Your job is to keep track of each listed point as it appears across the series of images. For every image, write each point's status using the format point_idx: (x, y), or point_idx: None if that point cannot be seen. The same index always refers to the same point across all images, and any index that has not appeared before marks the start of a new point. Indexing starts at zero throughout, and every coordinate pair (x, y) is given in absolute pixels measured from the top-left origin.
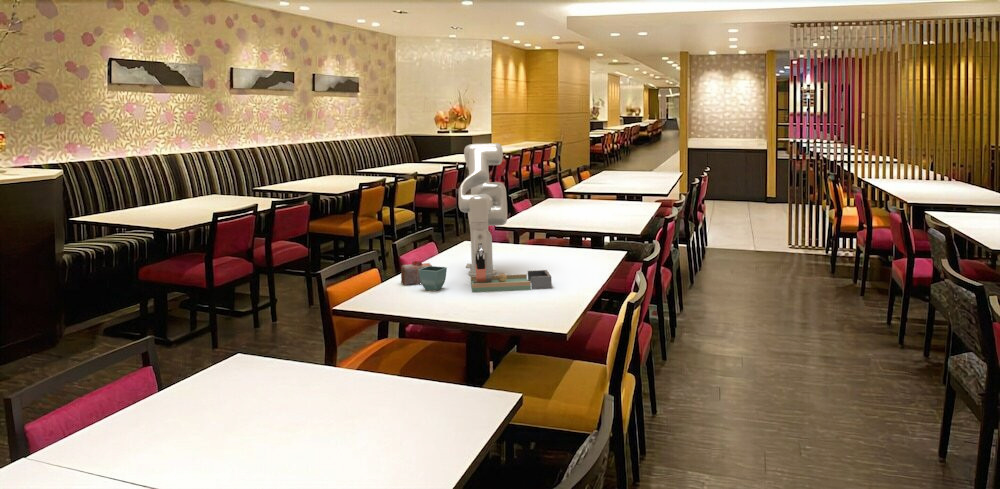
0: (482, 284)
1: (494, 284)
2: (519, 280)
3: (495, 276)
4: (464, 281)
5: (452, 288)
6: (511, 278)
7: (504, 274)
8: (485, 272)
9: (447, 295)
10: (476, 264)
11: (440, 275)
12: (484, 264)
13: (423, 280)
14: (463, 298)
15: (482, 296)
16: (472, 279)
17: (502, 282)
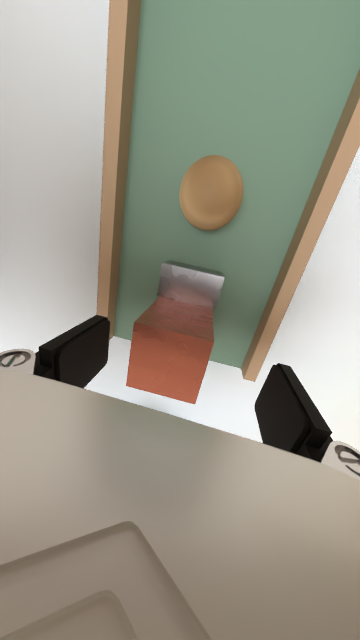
0: (271, 338)
1: (295, 279)
2: (197, 51)
3: (115, 218)
4: (59, 332)
5: (156, 395)
6: (131, 106)
7: (229, 173)
8: (212, 321)
9: (247, 434)
10: (151, 387)
11: None
12: (301, 390)
13: None
14: (321, 411)
15: (339, 348)
16: (112, 331)
17: (311, 228)
